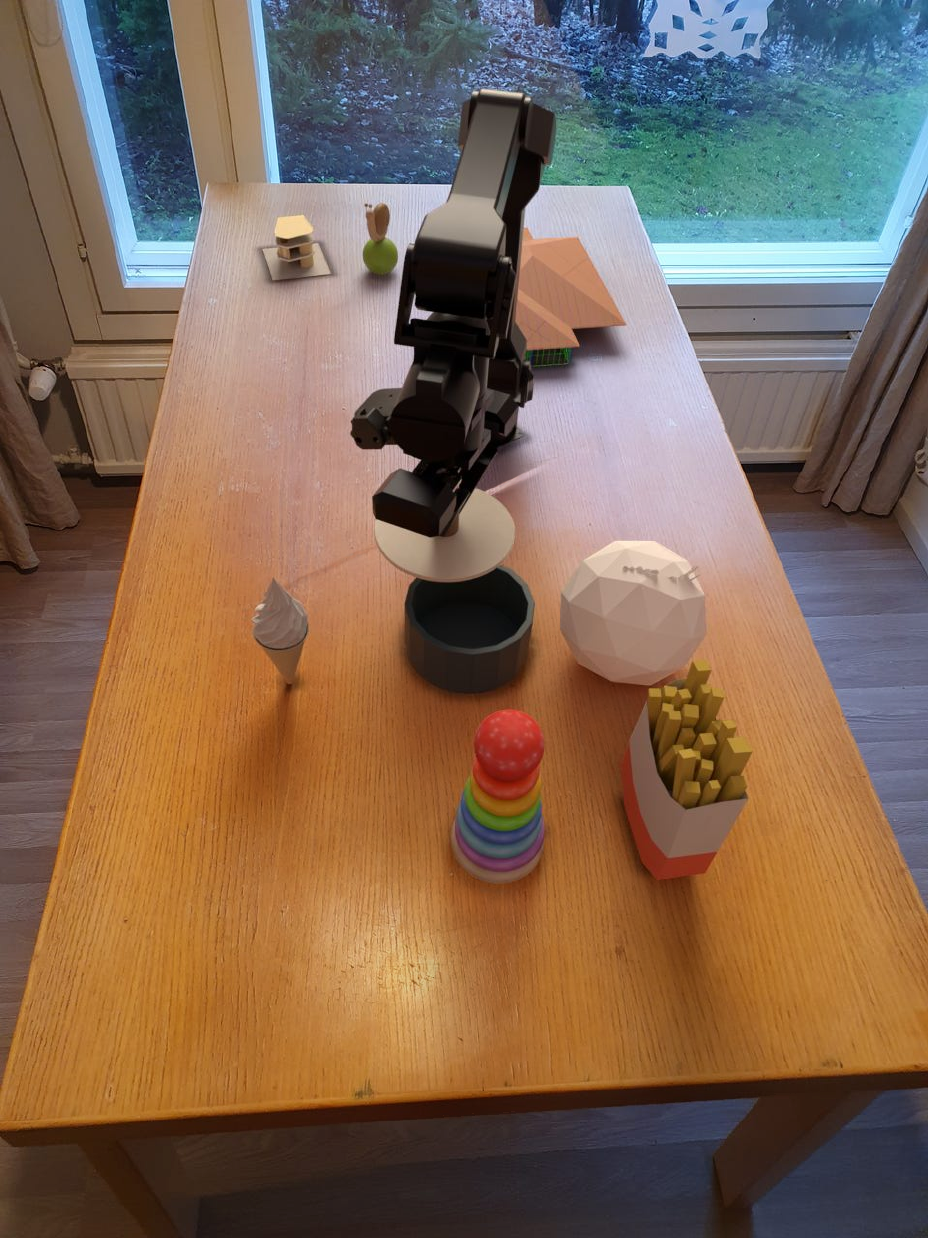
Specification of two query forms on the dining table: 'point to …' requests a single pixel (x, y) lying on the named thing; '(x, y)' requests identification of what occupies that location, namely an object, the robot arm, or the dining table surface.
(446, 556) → the round peg stand
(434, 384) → the robot arm
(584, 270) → the house
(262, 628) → the ice cream cone
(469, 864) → the stacking toy
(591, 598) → the geodesic sphere
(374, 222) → the snail figurine
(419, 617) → the container
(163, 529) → the dining table surface
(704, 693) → the french fries container
